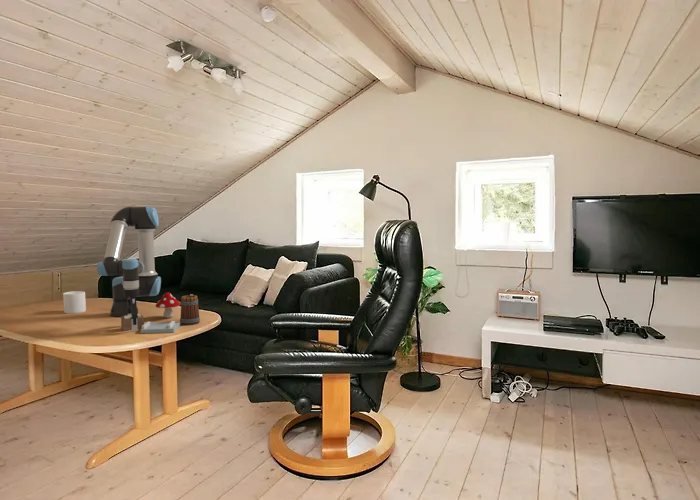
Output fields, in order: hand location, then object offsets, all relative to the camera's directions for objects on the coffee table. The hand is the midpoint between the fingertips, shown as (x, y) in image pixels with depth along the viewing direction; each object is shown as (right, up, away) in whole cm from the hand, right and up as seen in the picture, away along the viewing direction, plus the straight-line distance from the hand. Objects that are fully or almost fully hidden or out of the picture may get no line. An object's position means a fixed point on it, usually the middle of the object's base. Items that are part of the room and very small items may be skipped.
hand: (132, 328), depth 243 cm
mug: (+26, +1, +15) cm, 30 cm away
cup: (-56, +3, +42) cm, 70 cm away
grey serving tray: (+16, 0, -2) cm, 16 cm away
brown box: (0, 0, 0) cm, 0 cm away
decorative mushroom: (+9, +2, +25) cm, 27 cm away
